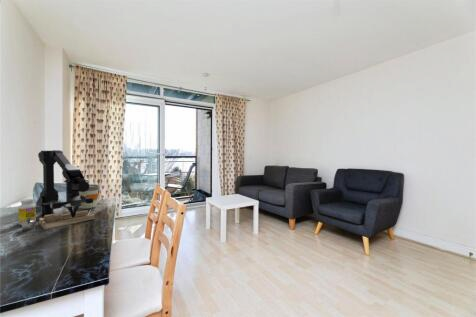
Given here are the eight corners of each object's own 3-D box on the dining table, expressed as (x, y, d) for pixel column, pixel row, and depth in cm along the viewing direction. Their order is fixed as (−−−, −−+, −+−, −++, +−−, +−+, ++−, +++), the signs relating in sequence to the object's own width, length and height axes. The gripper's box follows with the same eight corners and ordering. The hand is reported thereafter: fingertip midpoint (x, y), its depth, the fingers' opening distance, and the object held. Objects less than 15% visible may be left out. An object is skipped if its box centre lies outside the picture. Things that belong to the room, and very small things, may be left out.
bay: (39, 223, 114) (39, 218, 114) (87, 214, 131) (87, 209, 131) (44, 229, 105) (44, 223, 105) (94, 218, 123) (94, 213, 122)
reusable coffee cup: (102, 206, 150) (102, 185, 149) (82, 210, 139) (81, 188, 139) (94, 203, 156) (93, 183, 156) (74, 207, 146) (73, 186, 145)
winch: (21, 229, 105) (21, 216, 105) (33, 226, 109) (33, 214, 109) (23, 232, 102) (22, 218, 101) (35, 229, 105) (35, 216, 105)
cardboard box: (44, 224, 113) (44, 215, 112) (58, 221, 117) (58, 212, 117) (47, 227, 109) (46, 217, 109) (61, 224, 113) (61, 214, 113)
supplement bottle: (24, 225, 110) (24, 201, 110) (15, 224, 111) (14, 201, 111) (39, 221, 117) (38, 198, 116) (30, 220, 118) (29, 198, 117)
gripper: (54, 195, 107) (54, 224, 107) (96, 190, 121) (96, 216, 122) (49, 192, 114) (50, 220, 115) (90, 187, 128) (90, 212, 129)
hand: (73, 217), depth 120 cm, fingers closed
